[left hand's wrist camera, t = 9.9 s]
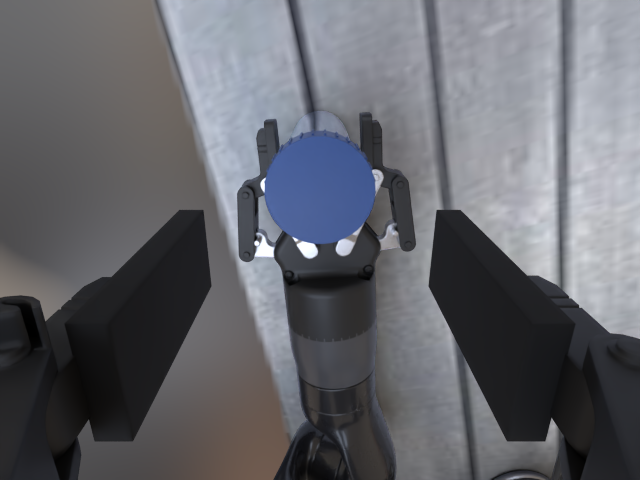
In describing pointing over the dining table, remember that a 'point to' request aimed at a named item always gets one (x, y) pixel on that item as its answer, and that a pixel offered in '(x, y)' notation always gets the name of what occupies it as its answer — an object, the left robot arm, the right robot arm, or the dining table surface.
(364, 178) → the lid
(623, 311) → the dining table surface
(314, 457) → the right robot arm
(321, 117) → the blue-grey bottle
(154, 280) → the left robot arm
